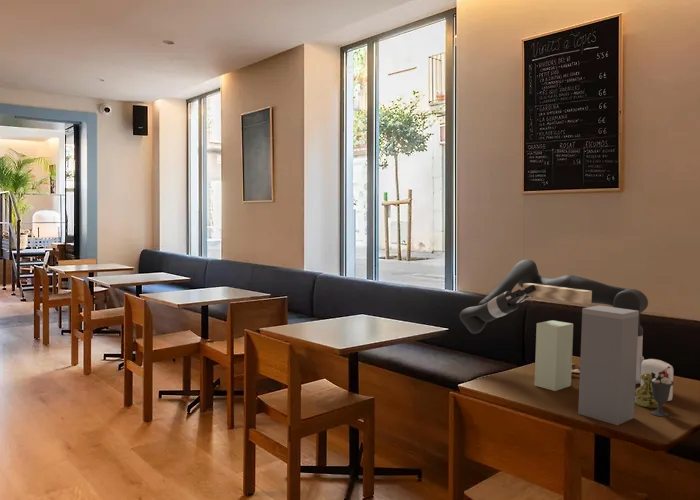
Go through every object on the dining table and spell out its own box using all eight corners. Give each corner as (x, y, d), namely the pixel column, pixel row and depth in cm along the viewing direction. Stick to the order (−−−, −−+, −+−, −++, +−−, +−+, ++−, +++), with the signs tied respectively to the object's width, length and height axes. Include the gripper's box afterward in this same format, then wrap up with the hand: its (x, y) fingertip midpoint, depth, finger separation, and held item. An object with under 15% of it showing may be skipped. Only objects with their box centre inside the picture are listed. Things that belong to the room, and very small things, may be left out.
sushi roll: (595, 371, 226) (595, 361, 225) (596, 381, 212) (597, 370, 212) (554, 367, 231) (555, 357, 231) (553, 377, 217) (554, 366, 217)
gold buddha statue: (660, 410, 180) (661, 378, 180) (633, 405, 184) (634, 374, 184) (661, 403, 186) (663, 372, 186) (636, 399, 190) (637, 369, 190)
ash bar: (522, 294, 211) (522, 283, 210) (529, 293, 213) (529, 283, 213) (585, 303, 192) (585, 291, 192) (591, 302, 195) (591, 290, 194)
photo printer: (637, 393, 197) (639, 357, 196) (646, 391, 199) (648, 355, 198) (665, 402, 188) (667, 364, 187) (674, 400, 190) (676, 363, 189)
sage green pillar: (534, 385, 204) (536, 323, 203) (550, 380, 211) (552, 320, 209) (555, 391, 198) (557, 326, 197) (570, 385, 204) (573, 323, 203)
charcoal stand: (578, 413, 176) (582, 308, 174) (595, 407, 182) (599, 305, 180) (617, 425, 166) (622, 314, 164) (633, 418, 173) (638, 310, 171)
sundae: (675, 418, 172) (678, 368, 172) (651, 416, 174) (653, 367, 173) (668, 411, 179) (670, 363, 178) (644, 409, 180) (646, 361, 179)
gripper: (487, 297, 217) (522, 278, 204) (510, 294, 226) (545, 275, 213) (494, 315, 214) (530, 297, 202) (517, 312, 223) (553, 294, 211)
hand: (538, 286), depth 208 cm, fingers closed on ash bar, 4 cm apart
